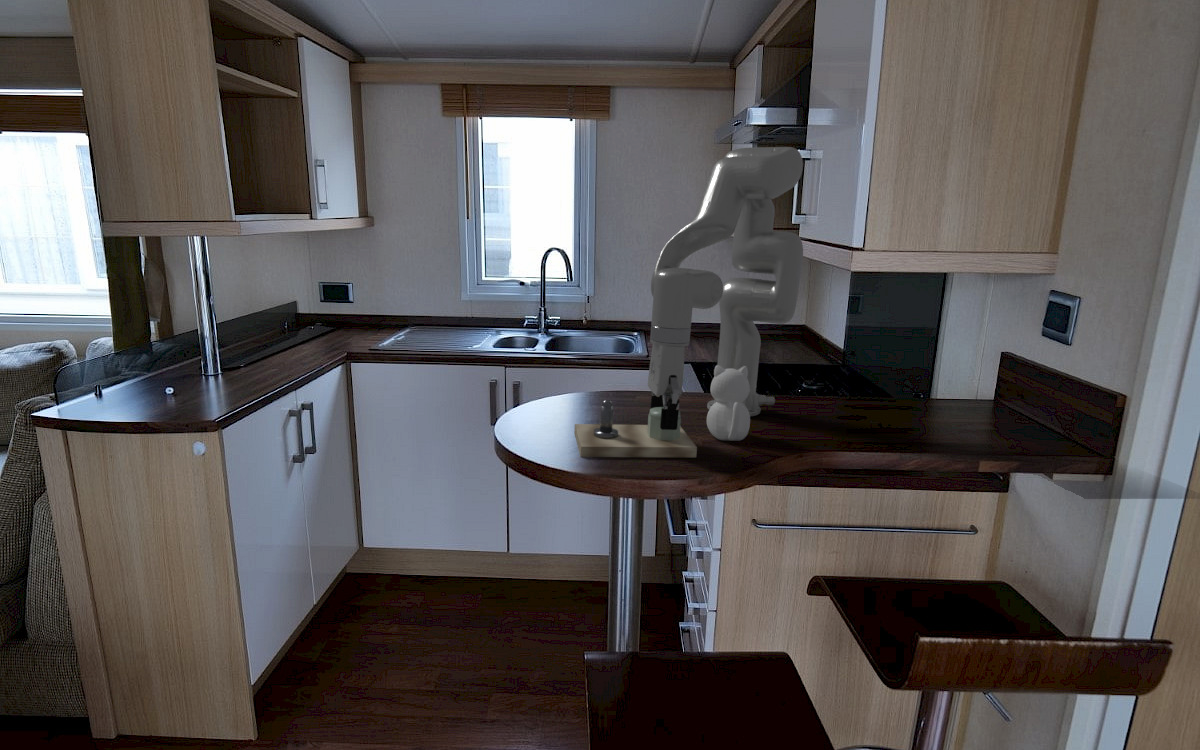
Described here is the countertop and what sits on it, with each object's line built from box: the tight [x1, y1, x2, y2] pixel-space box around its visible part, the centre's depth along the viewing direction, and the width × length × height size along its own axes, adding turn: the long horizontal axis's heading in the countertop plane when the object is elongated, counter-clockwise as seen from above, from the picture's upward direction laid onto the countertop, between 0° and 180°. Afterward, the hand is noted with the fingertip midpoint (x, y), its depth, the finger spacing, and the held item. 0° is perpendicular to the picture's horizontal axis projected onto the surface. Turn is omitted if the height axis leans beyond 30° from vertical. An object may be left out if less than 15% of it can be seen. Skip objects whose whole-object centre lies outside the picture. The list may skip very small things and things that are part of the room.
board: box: [574, 423, 698, 458], centre depth 131 cm, size 22×14×2 cm, turn 97°
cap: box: [647, 407, 682, 440], centre depth 131 cm, size 6×6×5 cm
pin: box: [593, 398, 618, 439], centre depth 129 cm, size 5×5×7 cm
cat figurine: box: [706, 364, 751, 442], centre depth 137 cm, size 9×12×15 cm
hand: (663, 422), depth 130 cm, fingers open, 9 cm apart
